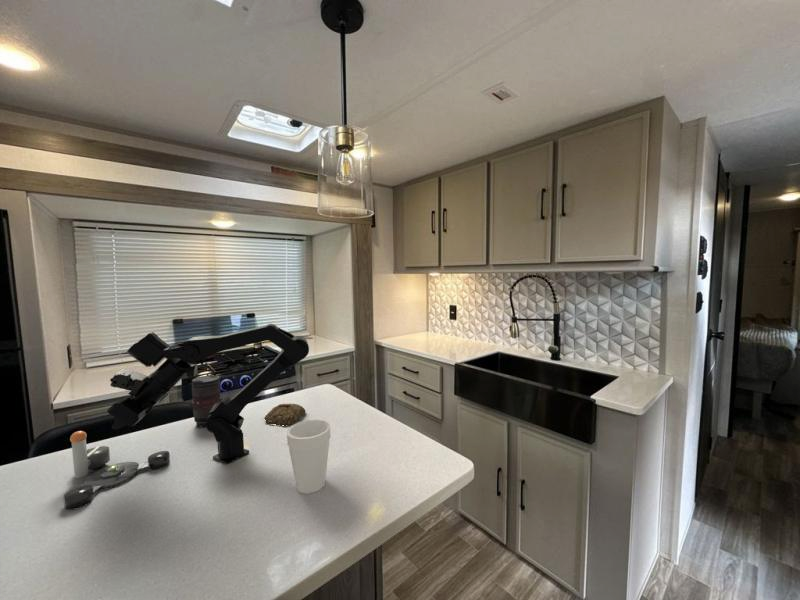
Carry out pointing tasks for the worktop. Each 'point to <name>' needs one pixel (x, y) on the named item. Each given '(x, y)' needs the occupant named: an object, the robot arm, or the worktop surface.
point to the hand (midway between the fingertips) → (114, 428)
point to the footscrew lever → (87, 455)
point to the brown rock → (284, 414)
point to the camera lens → (204, 397)
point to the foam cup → (309, 453)
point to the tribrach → (111, 478)
